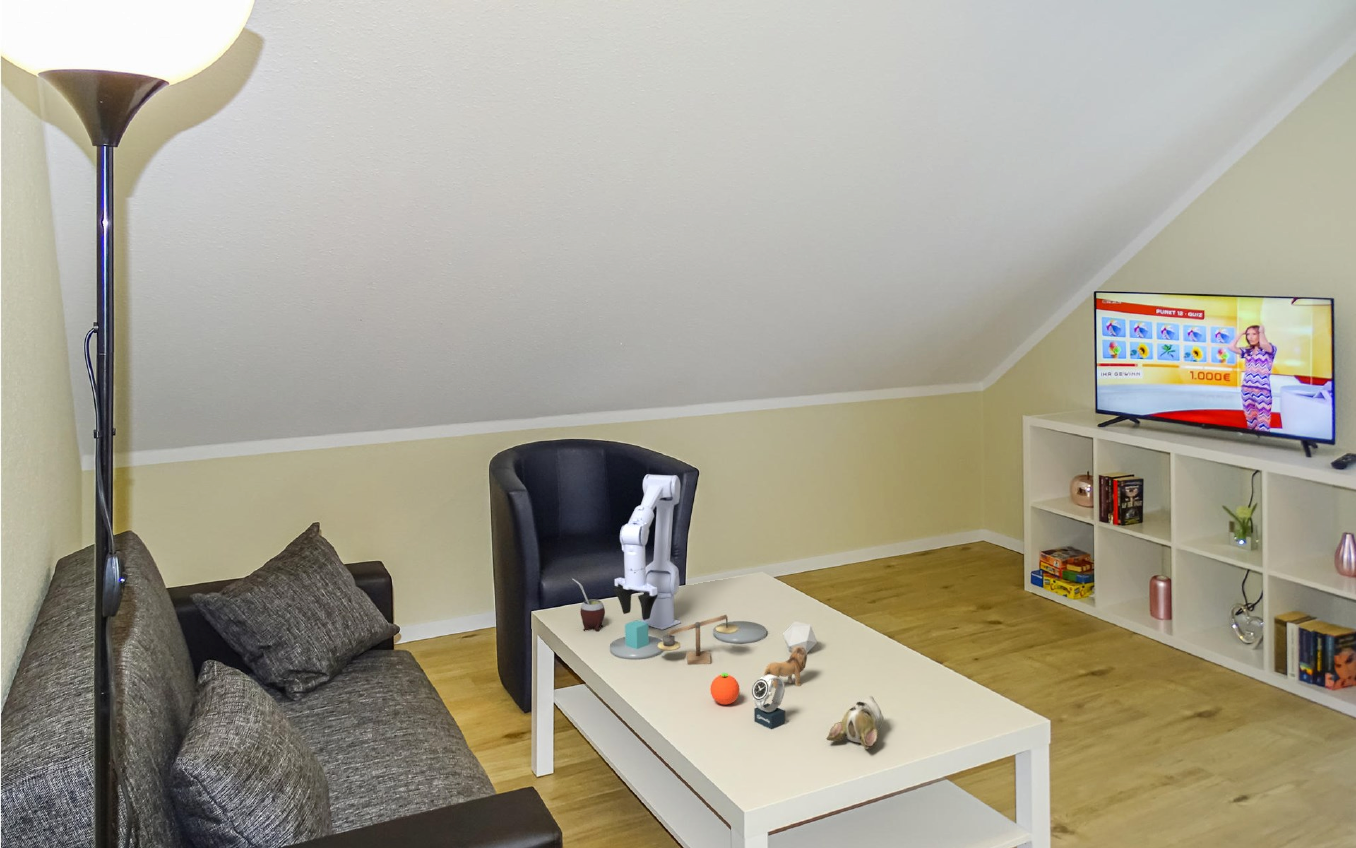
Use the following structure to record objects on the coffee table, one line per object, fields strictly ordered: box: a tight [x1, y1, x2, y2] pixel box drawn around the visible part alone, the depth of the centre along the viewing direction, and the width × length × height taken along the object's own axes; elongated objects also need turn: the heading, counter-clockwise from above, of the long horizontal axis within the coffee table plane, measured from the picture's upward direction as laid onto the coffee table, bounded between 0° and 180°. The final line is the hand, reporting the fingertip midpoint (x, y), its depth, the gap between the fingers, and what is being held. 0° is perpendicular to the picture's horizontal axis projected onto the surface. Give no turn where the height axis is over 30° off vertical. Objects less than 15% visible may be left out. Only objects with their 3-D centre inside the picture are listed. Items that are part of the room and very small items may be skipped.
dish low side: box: [609, 635, 665, 660], centre depth 278 cm, size 15×15×1 cm
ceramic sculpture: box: [826, 695, 885, 750], centre depth 222 cm, size 11×9×15 cm
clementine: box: [709, 672, 740, 705], centre depth 242 cm, size 8×7×7 cm
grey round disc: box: [712, 620, 767, 645], centre depth 288 cm, size 15×15×1 cm
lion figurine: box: [763, 646, 808, 690], centre depth 251 cm, size 15×5×9 cm, turn 128°
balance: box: [658, 614, 738, 665], centre depth 269 cm, size 21×6×12 cm, turn 92°
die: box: [782, 620, 818, 653], centre depth 274 cm, size 8×9×10 cm
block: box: [624, 619, 650, 649], centre depth 278 cm, size 4×4×6 cm
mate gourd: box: [571, 578, 606, 633], centre depth 295 cm, size 8×8×15 cm
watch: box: [751, 674, 786, 730], centre depth 230 cm, size 6×8×11 cm
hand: (636, 615), depth 277 cm, fingers open, 7 cm apart
